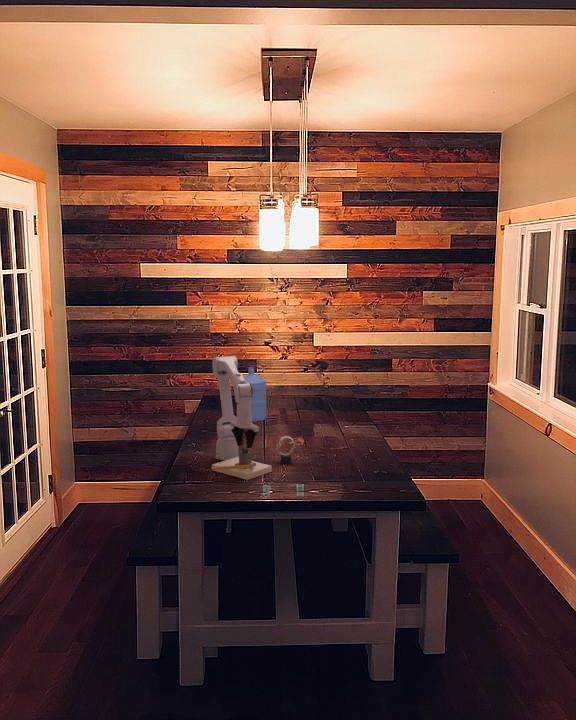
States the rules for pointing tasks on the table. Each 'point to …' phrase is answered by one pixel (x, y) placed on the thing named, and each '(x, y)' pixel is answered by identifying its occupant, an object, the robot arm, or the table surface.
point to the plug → (245, 457)
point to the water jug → (257, 396)
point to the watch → (285, 456)
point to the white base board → (242, 472)
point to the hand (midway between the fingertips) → (244, 446)
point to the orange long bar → (235, 467)
